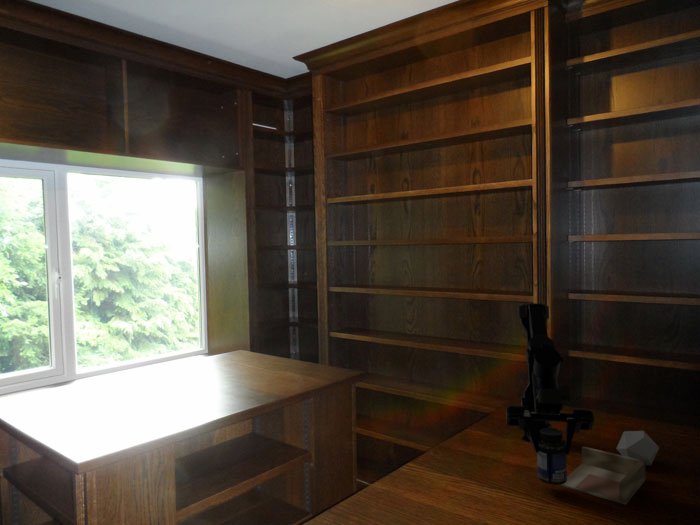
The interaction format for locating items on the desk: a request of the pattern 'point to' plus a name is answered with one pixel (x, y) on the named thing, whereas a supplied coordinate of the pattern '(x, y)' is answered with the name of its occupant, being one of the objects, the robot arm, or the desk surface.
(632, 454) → the grey polyhedron
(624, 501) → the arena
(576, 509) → the desk surface
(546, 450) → the pill bottle
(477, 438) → the desk surface
